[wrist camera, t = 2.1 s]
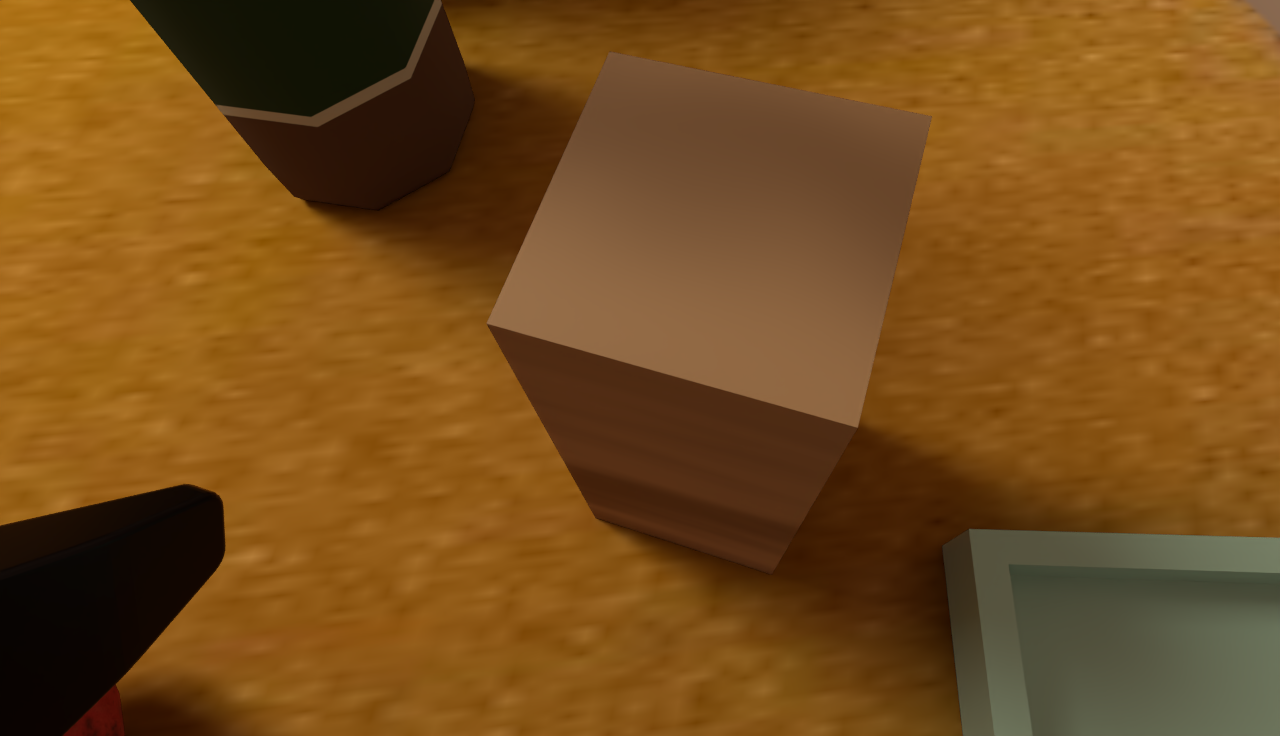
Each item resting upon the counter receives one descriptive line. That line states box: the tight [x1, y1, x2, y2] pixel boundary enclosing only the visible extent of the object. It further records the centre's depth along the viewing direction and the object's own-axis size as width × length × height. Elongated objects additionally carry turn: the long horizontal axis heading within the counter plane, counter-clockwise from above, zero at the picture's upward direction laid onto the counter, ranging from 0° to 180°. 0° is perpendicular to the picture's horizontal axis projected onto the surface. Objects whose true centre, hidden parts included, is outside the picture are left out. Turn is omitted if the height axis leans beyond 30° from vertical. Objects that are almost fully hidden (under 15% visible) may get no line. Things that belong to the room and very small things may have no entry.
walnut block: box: [487, 52, 932, 575], centre depth 16 cm, size 5×5×12 cm
